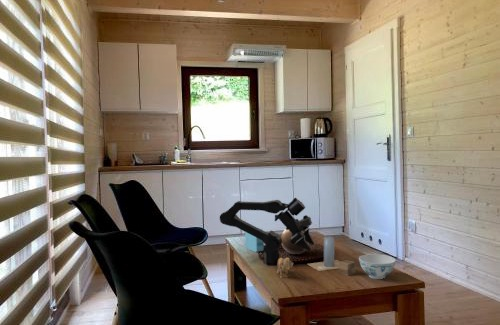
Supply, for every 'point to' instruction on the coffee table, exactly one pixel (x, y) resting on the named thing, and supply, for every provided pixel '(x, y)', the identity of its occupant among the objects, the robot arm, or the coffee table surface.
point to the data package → (253, 243)
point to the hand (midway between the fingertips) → (312, 247)
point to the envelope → (321, 267)
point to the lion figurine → (284, 266)
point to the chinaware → (377, 265)
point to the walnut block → (347, 267)
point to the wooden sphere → (288, 245)
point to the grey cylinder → (328, 251)
